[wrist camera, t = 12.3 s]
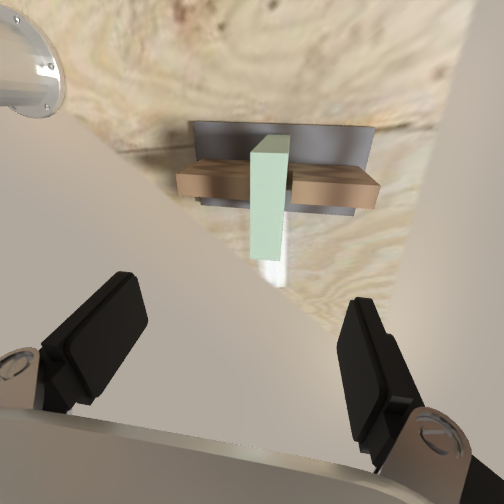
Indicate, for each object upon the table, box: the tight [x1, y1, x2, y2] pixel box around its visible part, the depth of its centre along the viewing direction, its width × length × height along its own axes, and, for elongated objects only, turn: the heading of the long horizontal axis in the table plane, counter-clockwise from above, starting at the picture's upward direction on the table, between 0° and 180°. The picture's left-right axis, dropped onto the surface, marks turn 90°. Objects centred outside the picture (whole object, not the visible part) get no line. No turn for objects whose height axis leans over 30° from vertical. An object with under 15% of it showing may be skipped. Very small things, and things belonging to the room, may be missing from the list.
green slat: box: [250, 134, 290, 261], centre depth 29 cm, size 3×10×16 cm, turn 0°
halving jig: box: [176, 121, 381, 216], centre depth 32 cm, size 24×12×12 cm, turn 89°
